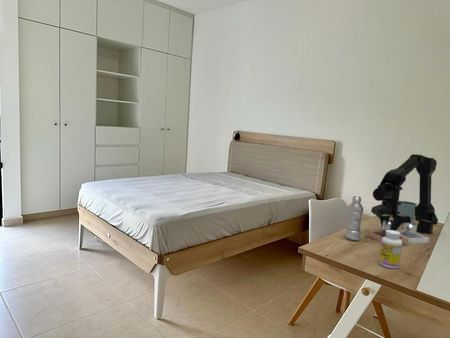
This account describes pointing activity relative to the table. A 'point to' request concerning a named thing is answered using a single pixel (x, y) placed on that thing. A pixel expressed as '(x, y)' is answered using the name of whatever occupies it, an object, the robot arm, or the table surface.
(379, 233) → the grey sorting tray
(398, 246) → the supplement bottle
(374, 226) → the table surface
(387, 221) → the steel billet
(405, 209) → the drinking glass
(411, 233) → the billet
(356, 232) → the plastic bottle
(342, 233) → the table surface
